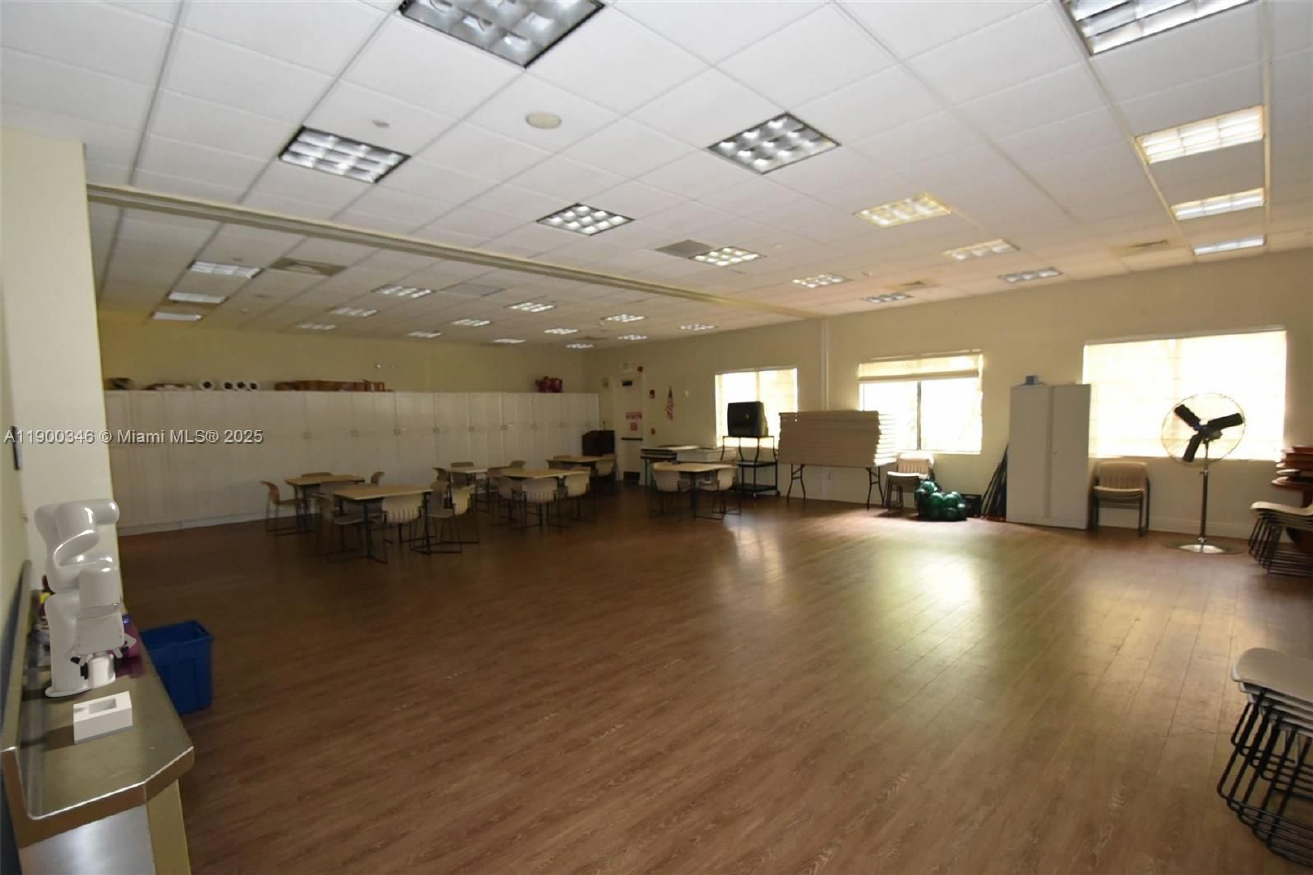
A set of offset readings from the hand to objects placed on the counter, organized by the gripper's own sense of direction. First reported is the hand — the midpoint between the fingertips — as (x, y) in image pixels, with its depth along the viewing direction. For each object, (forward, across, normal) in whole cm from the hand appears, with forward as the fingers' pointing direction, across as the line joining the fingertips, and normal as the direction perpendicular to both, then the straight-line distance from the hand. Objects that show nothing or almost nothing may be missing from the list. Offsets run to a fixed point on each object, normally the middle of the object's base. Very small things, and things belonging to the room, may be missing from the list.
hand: (101, 674), depth 166 cm
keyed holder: (+15, 0, 0) cm, 15 cm away
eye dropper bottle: (+3, 0, 0) cm, 3 cm away
